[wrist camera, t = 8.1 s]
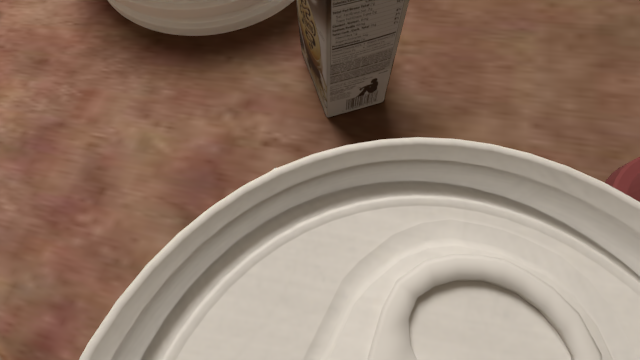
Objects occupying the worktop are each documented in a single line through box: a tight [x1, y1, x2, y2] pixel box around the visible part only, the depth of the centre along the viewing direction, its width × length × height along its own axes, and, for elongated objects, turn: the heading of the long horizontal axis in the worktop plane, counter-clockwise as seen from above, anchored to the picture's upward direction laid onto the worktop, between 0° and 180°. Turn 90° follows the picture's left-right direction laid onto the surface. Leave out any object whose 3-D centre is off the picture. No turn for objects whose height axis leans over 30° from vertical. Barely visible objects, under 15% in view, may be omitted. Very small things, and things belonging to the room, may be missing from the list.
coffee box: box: [296, 0, 409, 117], centre depth 30 cm, size 9×6×16 cm
